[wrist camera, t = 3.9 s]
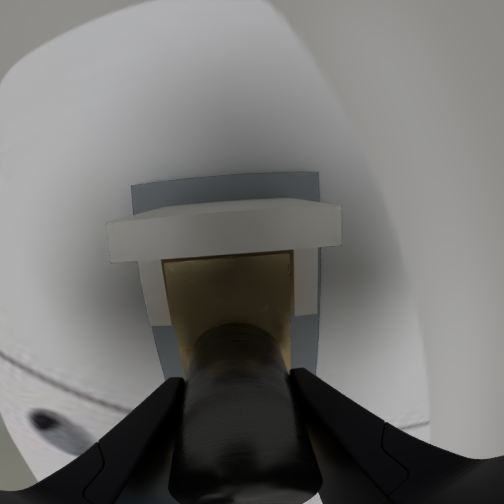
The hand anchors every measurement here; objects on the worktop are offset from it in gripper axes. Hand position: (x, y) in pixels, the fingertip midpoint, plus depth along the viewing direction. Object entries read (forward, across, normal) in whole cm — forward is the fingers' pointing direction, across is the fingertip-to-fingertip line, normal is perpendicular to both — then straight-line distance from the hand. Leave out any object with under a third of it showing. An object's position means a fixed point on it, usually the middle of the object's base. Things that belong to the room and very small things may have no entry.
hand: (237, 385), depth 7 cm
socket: (+8, 0, -3) cm, 8 cm away
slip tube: (+5, 0, +4) cm, 6 cm away
